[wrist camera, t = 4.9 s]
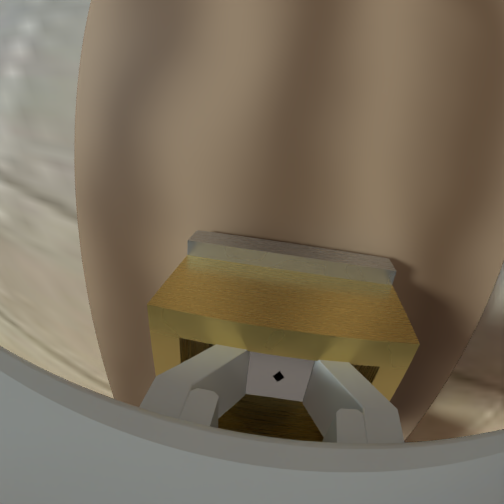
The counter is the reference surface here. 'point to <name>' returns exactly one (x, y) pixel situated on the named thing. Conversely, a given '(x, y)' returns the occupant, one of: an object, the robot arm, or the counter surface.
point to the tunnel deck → (293, 156)
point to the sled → (282, 318)
